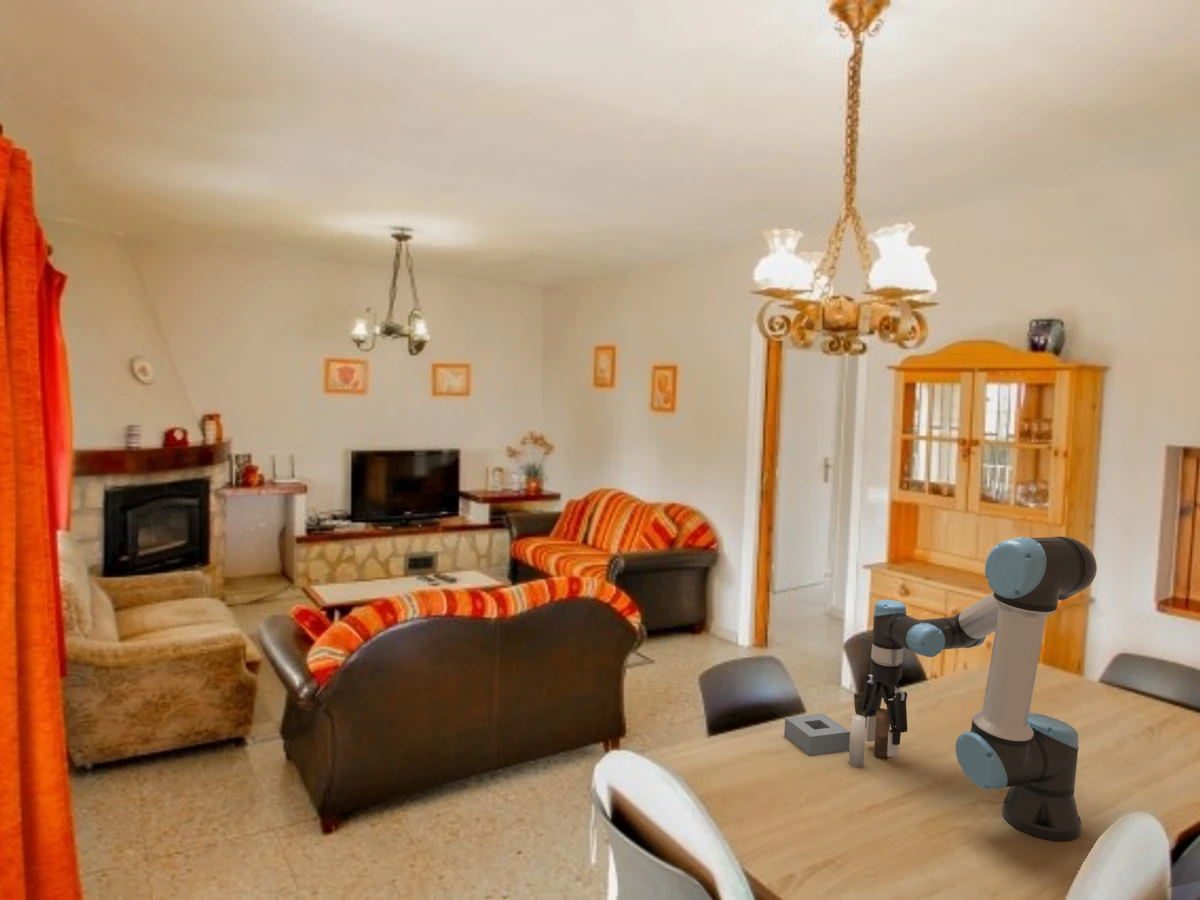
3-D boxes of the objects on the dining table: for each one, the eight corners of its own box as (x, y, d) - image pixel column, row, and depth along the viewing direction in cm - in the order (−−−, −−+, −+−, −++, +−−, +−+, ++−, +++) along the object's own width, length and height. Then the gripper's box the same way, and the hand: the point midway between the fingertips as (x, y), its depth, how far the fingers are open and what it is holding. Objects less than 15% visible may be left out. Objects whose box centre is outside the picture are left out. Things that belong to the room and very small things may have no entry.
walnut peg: (890, 758, 203) (893, 713, 202) (879, 760, 202) (882, 714, 201) (882, 752, 207) (884, 707, 206) (871, 754, 205) (873, 709, 205)
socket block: (849, 750, 207) (850, 731, 207) (809, 755, 203) (810, 736, 203) (822, 731, 219) (823, 713, 218) (784, 735, 215) (785, 717, 214)
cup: (883, 730, 220) (885, 702, 220) (857, 729, 221) (858, 701, 220) (875, 719, 228) (876, 692, 227) (849, 718, 228) (850, 690, 227)
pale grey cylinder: (866, 766, 199) (868, 719, 198) (854, 767, 198) (857, 721, 197) (857, 760, 202) (860, 714, 201) (846, 761, 201) (848, 715, 200)
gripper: (927, 674, 194) (921, 764, 196) (873, 647, 213) (868, 729, 215) (902, 677, 191) (896, 768, 193) (849, 649, 211) (844, 732, 213)
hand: (881, 747), depth 204 cm, fingers open, 8 cm apart
